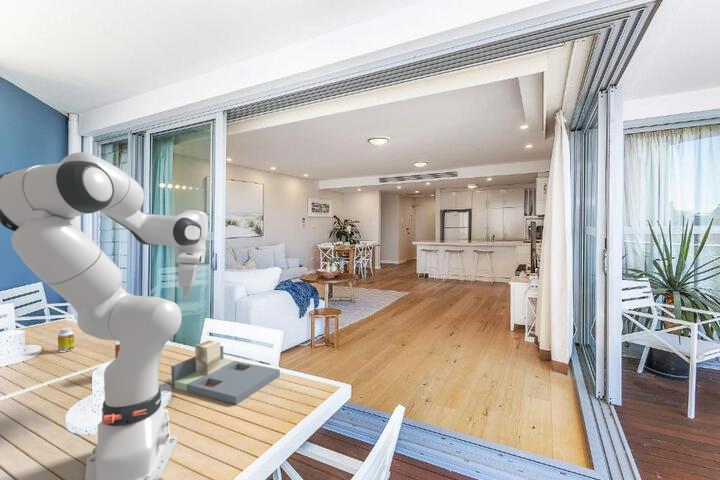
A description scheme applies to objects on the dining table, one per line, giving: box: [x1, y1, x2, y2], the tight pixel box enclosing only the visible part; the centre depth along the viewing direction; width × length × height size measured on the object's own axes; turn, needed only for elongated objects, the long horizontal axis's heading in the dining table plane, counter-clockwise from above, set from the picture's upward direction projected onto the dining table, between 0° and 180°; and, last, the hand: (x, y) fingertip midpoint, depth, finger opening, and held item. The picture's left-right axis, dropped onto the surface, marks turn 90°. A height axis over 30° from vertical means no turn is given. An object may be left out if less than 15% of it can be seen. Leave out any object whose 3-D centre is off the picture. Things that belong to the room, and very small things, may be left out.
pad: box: [174, 358, 234, 392], centre depth 126 cm, size 6×22×2 cm, turn 156°
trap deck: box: [170, 345, 281, 406], centre depth 121 cm, size 30×22×8 cm
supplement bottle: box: [57, 326, 75, 352], centre depth 154 cm, size 6×6×10 cm
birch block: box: [194, 339, 221, 375], centre depth 125 cm, size 6×6×10 cm
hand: (185, 297), depth 114 cm, fingers closed
